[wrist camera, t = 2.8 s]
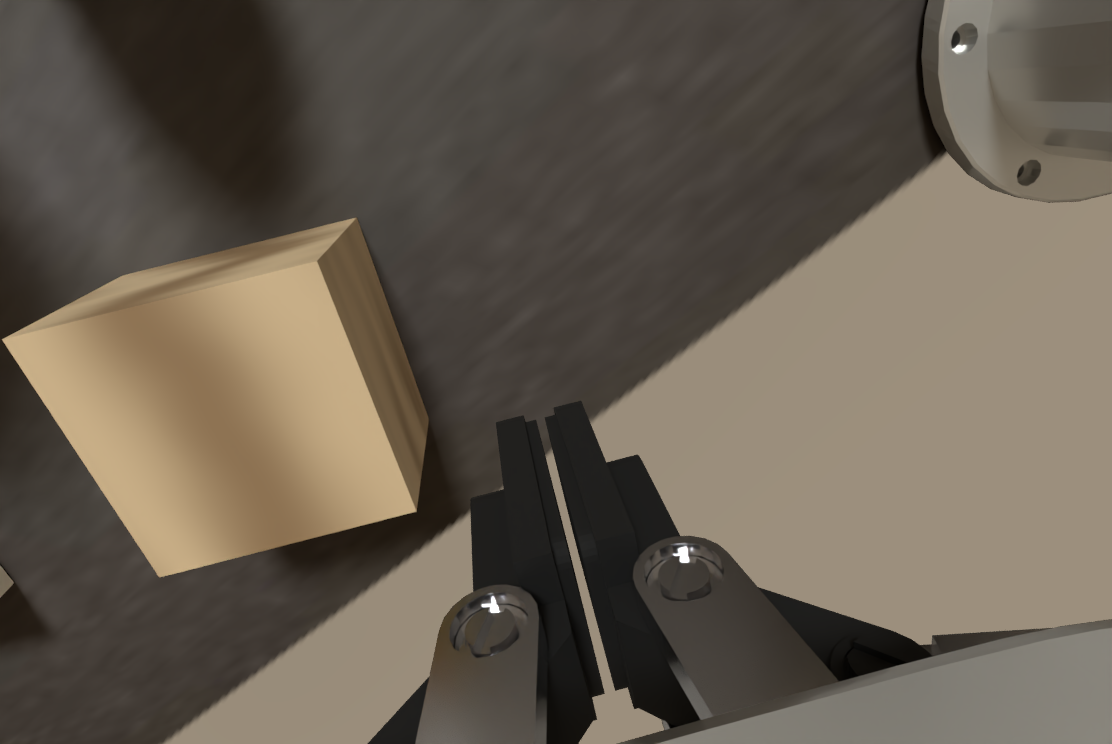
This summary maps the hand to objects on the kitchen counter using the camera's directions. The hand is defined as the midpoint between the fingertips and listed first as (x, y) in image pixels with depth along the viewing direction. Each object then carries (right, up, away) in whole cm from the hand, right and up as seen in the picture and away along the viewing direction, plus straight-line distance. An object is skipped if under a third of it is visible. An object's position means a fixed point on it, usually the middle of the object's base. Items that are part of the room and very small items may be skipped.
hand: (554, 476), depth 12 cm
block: (-10, +3, +11) cm, 15 cm away
